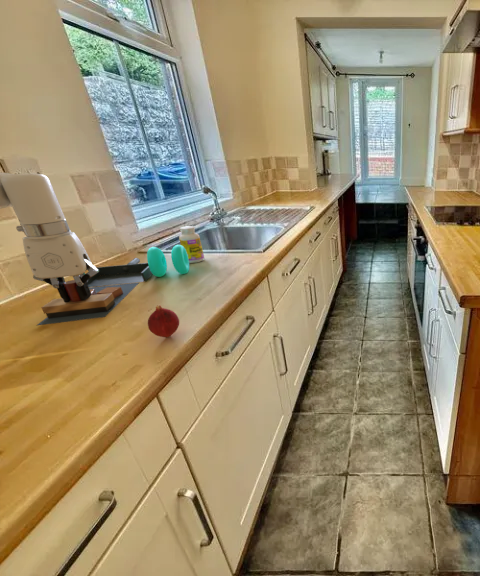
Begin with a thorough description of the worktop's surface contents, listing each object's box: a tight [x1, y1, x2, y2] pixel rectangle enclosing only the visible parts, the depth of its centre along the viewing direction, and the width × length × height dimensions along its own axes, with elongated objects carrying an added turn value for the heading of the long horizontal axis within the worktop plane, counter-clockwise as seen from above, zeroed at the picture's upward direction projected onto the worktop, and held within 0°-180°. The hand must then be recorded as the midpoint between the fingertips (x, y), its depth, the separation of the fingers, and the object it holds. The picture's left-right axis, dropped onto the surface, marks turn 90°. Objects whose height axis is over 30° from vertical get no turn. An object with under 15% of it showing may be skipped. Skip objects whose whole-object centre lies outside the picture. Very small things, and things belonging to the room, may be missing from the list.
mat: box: [36, 282, 141, 326], centre depth 89 cm, size 14×24×1 cm, turn 17°
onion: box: [147, 304, 180, 338], centre depth 71 cm, size 6×6×8 cm
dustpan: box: [86, 257, 153, 288], centre depth 108 cm, size 20×17×3 cm
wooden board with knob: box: [40, 279, 115, 318], centre depth 82 cm, size 13×5×8 cm, turn 107°
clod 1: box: [90, 289, 97, 295], centre depth 90 cm, size 4×4×2 cm
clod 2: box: [96, 287, 123, 298], centre depth 91 cm, size 4×4×2 cm
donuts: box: [146, 244, 190, 278], centre depth 106 cm, size 10×10×10 cm
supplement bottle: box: [178, 225, 205, 264], centre depth 119 cm, size 7×7×13 cm
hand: (77, 298), depth 82 cm, fingers closed on wooden board with knob, 2 cm apart
